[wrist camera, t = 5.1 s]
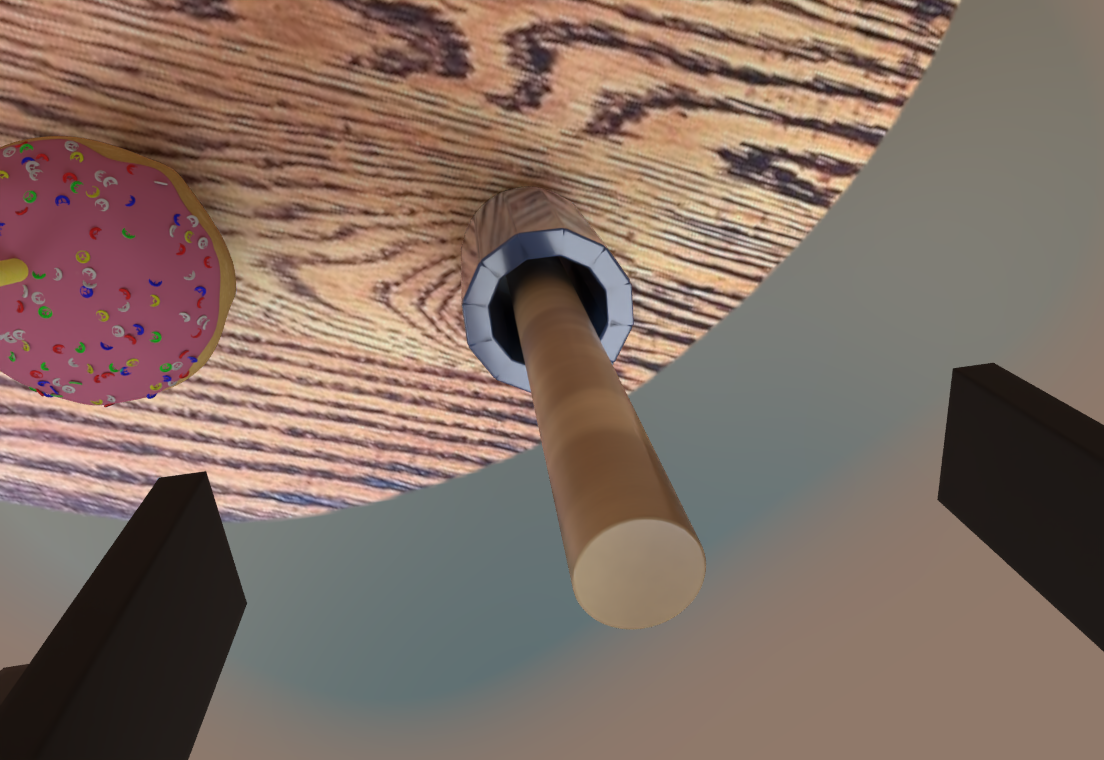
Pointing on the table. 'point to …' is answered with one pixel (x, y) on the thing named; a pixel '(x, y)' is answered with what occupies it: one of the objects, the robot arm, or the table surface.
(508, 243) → the holder
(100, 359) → the cupcake
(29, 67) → the table surface
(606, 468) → the stick
